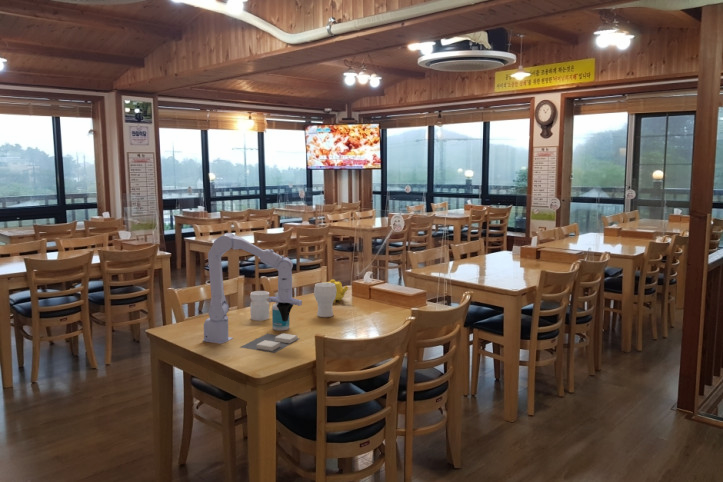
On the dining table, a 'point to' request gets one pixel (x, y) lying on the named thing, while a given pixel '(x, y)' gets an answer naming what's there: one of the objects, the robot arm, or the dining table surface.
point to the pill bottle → (278, 319)
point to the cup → (325, 298)
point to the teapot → (339, 290)
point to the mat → (269, 338)
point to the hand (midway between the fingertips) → (285, 320)
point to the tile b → (286, 338)
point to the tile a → (268, 345)
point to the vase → (259, 305)
